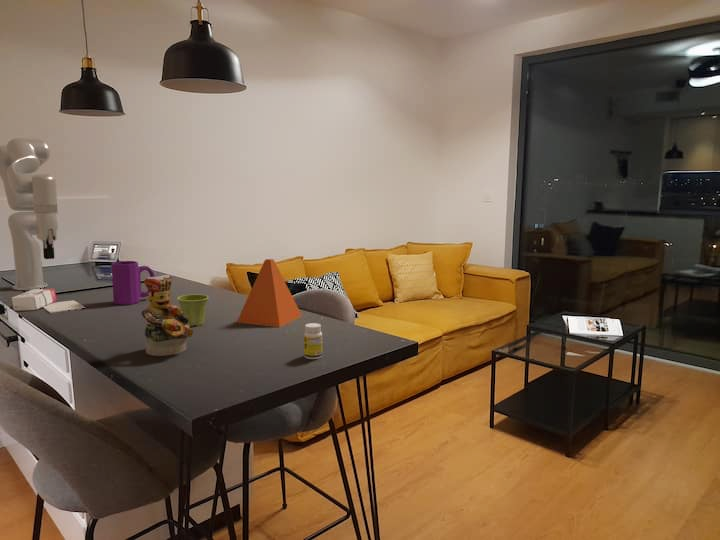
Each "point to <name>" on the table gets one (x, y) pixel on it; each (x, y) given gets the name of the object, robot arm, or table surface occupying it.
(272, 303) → the pyramid
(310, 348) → the supplement bottle
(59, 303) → the mat
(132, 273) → the mug
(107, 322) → the table surface
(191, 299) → the plant pot
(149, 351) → the figurine
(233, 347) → the table surface
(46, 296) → the ink box
